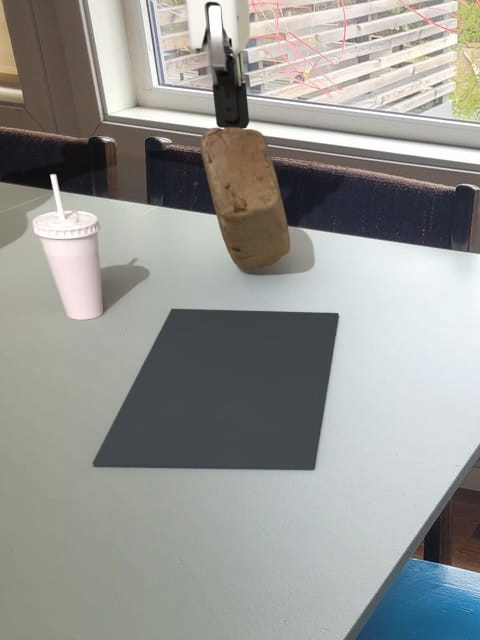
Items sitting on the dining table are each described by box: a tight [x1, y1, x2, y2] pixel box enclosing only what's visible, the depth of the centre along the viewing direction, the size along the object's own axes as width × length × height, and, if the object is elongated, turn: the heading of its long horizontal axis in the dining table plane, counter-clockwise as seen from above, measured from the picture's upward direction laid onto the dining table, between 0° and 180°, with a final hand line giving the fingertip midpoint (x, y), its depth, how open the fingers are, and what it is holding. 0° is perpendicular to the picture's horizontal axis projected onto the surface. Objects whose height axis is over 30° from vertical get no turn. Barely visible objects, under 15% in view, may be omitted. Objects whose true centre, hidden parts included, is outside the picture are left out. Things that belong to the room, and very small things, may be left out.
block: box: [200, 127, 291, 269], centre depth 109 cm, size 11×8×20 cm
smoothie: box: [32, 173, 104, 321], centre depth 102 cm, size 6×6×14 cm
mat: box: [92, 308, 340, 471], centre depth 95 cm, size 18×34×1 cm, turn 3°
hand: (233, 125), depth 106 cm, fingers closed
